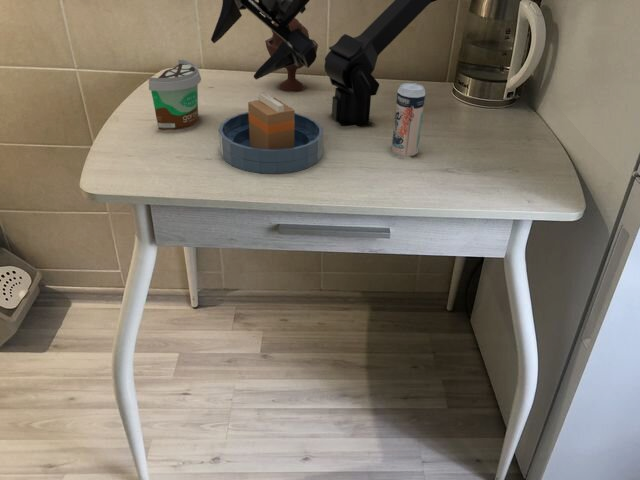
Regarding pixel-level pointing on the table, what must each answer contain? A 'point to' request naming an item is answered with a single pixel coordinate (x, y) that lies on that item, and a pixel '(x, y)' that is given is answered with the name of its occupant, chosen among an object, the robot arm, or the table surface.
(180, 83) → the food container
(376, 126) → the table surface
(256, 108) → the carton
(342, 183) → the table surface
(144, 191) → the table surface
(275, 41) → the ice cream bowl
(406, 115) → the beer can
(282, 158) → the bowl
